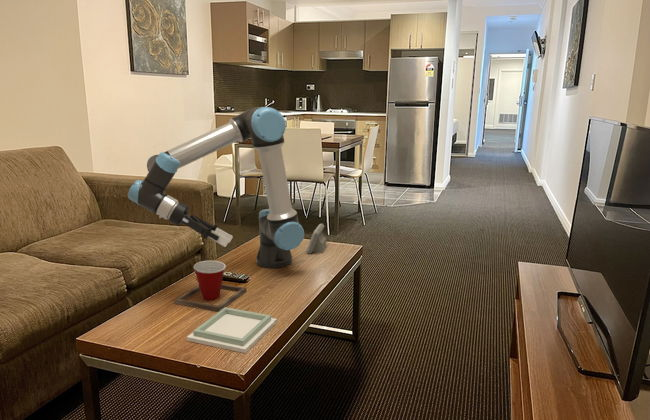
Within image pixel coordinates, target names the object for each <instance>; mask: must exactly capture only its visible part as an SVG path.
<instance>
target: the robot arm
mask: <svg viewBox="0 0 650 420" xmlns="http://www.w3.org/2000/svg"><path fill="white" fill-rule="evenodd" d="M285 120H286V119H285V118H284V116H283V115H282V113H281V112H280V111H279V110H277V109H276V108H273V107H269V106H256V107H255V106H254V107H251V108H249V109H247V110H244V111H243V112H241V113H239V114H238V115H236V116H234V117H232V118H230V119H229V121H228V122H227V123H225V124H223V125H221V126H218V127H217V128H214V129H211V130H210V131H207V132H206V133H203V134H200V135H198V136H196V137H194V138H192V139H190V140H188V141H186V142H183V143H181V144H179V145H177V146H175V147H172V148H171V149H167V151H161V152H160V153H159V154H154V155H152V156H150V157H149V158H148V159H147V163H146V168H147V174H146V176H145V178H144V179H143V180H141V179H137V180H135V181H134V182H133V184H132V185H131V186H130V188H129V189H128V193H127V198H128V199H129V200H130V201H131V202H133V203H135V204H137V205H138V206H139V207H142V208H143V209H146V210H147V211H148V212H151V213H153V214H155V215H157V216H158V219H162V218H163V219H164V220H168V221H169V223H171V224H173V225H175V226H177V227H179V226H181V224H184V225H185V226H187V227H188V228H190V229H191V230H193V231H195V232H196V233H198V234H200V235H201V236H202V237H203V239H205V240H207V239H210V240H211V241H213V242H215V243H217V244H219V245H221V246H222V247H224V248H226V247H227V245H228V244H230V243H231V241H232V239H233V238H234V236H233V235H232V234H229V233H227V232H226V231H224V230H223V229H221V228H218V227H219V226H218V225H217V224H215V225H214V224H212V223H210V222H208V221H206V220H204V219H202V218H200V217H198V216H197V215H196V214H189V212H190V206H188V205H187V204H185V203H183V202H179V200H178V199H176V198H174V197H172V196H171V195H168V194H167V193H165V191H166V190H167V187H168V186H169V185H170V183H171V181H172V179H173V178H174V176H175V174H176V173H177V172H178V170H179V169H181V168H183V167H186V166H187V165H190V164H191V163H193V162H197V161H198V160H200V159H203V158H205V157H206V156H209V155H210V154H213V153H215V152H217V151H220V150H222V149H223V148H226V147H228V146H230V145H233V144H234V143H237V142H239V143H243V142H245V141H247V140H251V143H252V148H253V149H254V150H256V151H257V152H258V157H259V162H260V167H261V171H262V172H261V173H262V178H263V183H264V188H265V194H266V199H267V204H268V208H265V209H261V210H260V211H259V213H258V224H259V225H258V226H259V227H258V228H259V229H258V231H259V246H258V251H257V255H256V259H255V260H256V262H255V263H256V265H258V266H259V267H263V268H267V269H278V268H285V267H287V266H290V265H291V264H292V263H293V254H292V252H291V250H295V249H296V248H298V247H299V246H300V245H301V243H302V242H303V240H304V237H305V231H304V228H303V226H302V225H301V224H300V222H299V217H298V211H296V209H294V208H293V206H292V205H293V204H292V200H291V196H290V195H291V193H290V190H289V183H288V178H287V172H286V167H285V161H284V155H283V149H282V147H283V146H284V144H285V137H284V133H286V132H285V131H286V125H287V124H286V121H285Z"/></svg>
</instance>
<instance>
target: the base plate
mask: <svg viewBox="0 0 650 420" xmlns="http://www.w3.org/2000/svg"><path fill="white" fill-rule="evenodd" d="M277 323H278V319H277V318H274V317H272V315H271V314H265V313H259V312H253V311H249V310H242V309H238V308H232V307H228V306H226V307H225V308H223V309H222V310H221V311H219V312H216V313H215V314H214V315H212V316H211V317H210V318H208V319H207V320H205V321H204V322H203V323H201V324H200V325H199V326H197V327H196V328H195V329H194V330H193V331H192V332H191V333H190V334H188V335H187V336H186V341H187V342H191V343H196V344H200V345H206V346H209V347H215V348H218V349H225V350H228V351H233V352H237V353H242V354H247V353H248V352H249V350H251V349H252V347H254V346H255V345H256V344H257V343H258V342H259V341H260V340H261V339H262V338H263V337H264V336H265V335H266V334H267V333H268V332H269V331H270V330H271V329H272V328H273V327H274V326H275V325H276V324H277Z"/></svg>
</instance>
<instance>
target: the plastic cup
mask: <svg viewBox="0 0 650 420" xmlns="http://www.w3.org/2000/svg"><path fill="white" fill-rule="evenodd" d="M226 267H227V266H226V264H225V263H224V262H222V261H219V260H210V259H209V260H203V261H198V262H196V263H195V264H194V265H193V269H194V271H195V274H196V279H197V282H198V285H199V287H200V291H199V292H200V294H201V297H202V300H203V301H205V302H209V301H210V302H212V301H216V300H218V299H219V298H220V296H221V291H222V289H221V284H223V275H224V271H225V269H226Z"/></svg>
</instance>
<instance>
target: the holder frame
mask: <svg viewBox="0 0 650 420" xmlns="http://www.w3.org/2000/svg"><path fill="white" fill-rule="evenodd" d="M221 290H223V291H224V290H225V291H232V292H235V293H233V294H232V295H231V296H229V297H228V298H226V299H225V300H223V301H222V302H221V303H219V304H218V305H215V304H210V303H205V302H204V303H203V302H199V301H193V300H187V299H188V298H190V297H192V296H193V295H195V294H197V293H198V292H201V291H200V287H199V284H198V285H197V286H195V287H194V288H191V289H190V290H188V291H186V292H185V293H184V294H182V295H180V296H179V297H177V298H175V299H174V305H177V306H178V305H179V306H185V307H190V308H195V309H200V310H206V311H210V312H211V311H212V312H216V313H218V312H219V311H221V310H222V309H223V308H225V307H228V306H229V305H231V304H232V303H234V302H235V301H236V300H237V299H239V298H240V297H242V296H243V295H244V294H245V293H247V287H244V286H237V285H232V284H226V283H225V284H224V283H222V284H221Z"/></svg>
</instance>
